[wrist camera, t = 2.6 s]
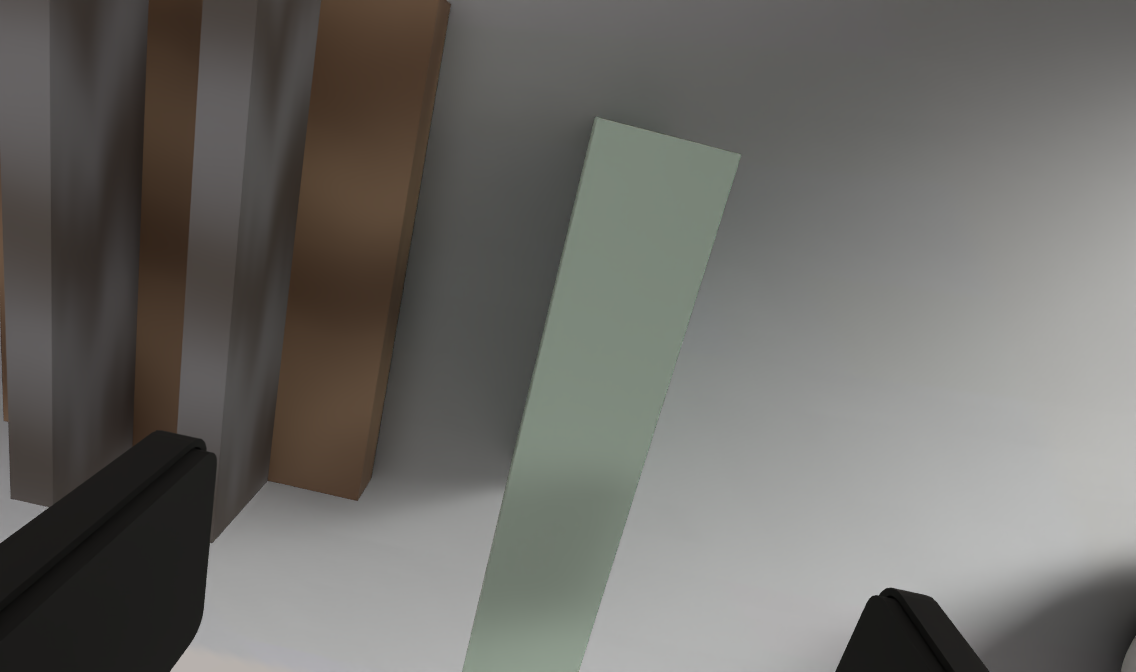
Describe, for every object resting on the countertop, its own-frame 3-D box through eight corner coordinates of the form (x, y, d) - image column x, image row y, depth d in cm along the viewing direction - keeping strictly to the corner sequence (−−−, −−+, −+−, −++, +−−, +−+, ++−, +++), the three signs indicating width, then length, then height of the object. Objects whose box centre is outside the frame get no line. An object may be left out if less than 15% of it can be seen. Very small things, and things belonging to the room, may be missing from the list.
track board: (31, -105, 19) (-158, -180, 14) (450, 4, 19) (404, -32, 15) (38, 402, 24) (-100, 474, 19) (371, 478, 24) (317, 566, 20)
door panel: (595, 116, 20) (596, 117, 11) (671, 136, 20) (741, 154, 11) (512, 459, 24) (458, 685, 14) (577, 474, 24) (567, 708, 15)
